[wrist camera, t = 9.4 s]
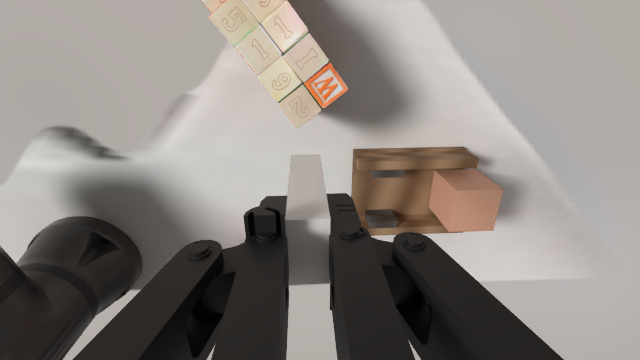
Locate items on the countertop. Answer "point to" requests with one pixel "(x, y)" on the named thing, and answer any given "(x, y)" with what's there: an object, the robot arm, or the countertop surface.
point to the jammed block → (465, 200)
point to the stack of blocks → (280, 54)
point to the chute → (401, 187)
